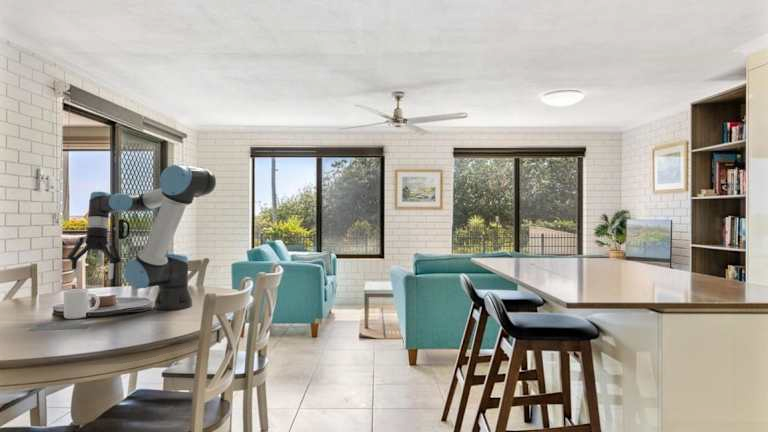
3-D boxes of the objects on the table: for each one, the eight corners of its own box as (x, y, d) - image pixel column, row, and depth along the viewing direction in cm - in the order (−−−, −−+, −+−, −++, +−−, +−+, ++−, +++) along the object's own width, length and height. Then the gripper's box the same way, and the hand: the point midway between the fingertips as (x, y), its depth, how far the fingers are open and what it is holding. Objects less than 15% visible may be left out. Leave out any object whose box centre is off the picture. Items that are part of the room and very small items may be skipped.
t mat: (101, 320, 183) (101, 319, 183) (86, 329, 170) (86, 328, 170) (46, 322, 180) (46, 321, 180) (26, 332, 166) (26, 330, 166)
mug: (100, 312, 195) (99, 287, 195) (99, 316, 188) (99, 290, 188) (64, 315, 189) (64, 289, 189) (62, 320, 182) (62, 293, 182)
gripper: (122, 232, 215) (119, 279, 210) (60, 225, 195) (55, 277, 190) (131, 230, 211) (128, 278, 206) (69, 222, 190) (63, 276, 186)
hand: (93, 278), depth 198 cm, fingers open, 13 cm apart
